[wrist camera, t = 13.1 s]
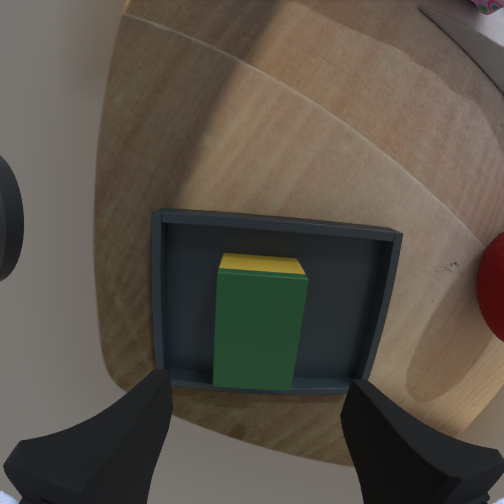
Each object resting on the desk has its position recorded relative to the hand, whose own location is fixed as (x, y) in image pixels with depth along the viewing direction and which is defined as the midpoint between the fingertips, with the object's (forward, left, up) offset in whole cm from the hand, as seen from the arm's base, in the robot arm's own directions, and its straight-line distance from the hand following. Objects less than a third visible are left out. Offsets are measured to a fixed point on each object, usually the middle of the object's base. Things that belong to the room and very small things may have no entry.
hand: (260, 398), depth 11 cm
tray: (+1, 0, -9) cm, 9 cm away
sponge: (0, 0, -9) cm, 9 cm away
